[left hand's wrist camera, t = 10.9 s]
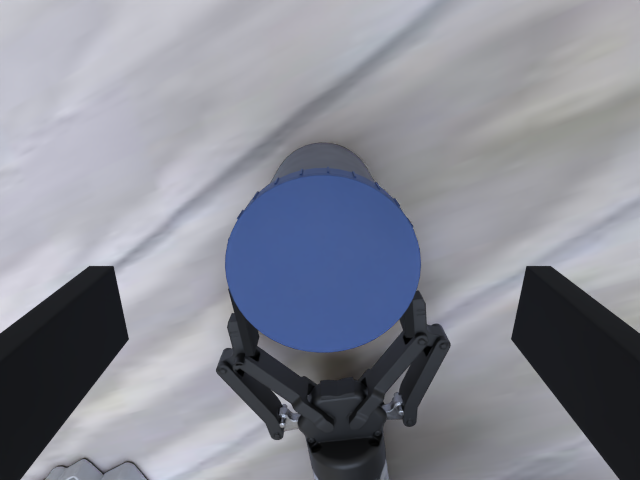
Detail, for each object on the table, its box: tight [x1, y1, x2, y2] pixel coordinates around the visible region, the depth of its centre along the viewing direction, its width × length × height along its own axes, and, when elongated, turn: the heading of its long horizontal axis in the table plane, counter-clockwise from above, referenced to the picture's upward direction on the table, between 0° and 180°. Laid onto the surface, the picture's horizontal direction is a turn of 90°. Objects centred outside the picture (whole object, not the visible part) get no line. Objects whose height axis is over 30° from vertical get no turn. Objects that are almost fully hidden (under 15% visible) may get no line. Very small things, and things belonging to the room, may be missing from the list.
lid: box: [225, 167, 421, 352], centre depth 21 cm, size 10×10×2 cm
